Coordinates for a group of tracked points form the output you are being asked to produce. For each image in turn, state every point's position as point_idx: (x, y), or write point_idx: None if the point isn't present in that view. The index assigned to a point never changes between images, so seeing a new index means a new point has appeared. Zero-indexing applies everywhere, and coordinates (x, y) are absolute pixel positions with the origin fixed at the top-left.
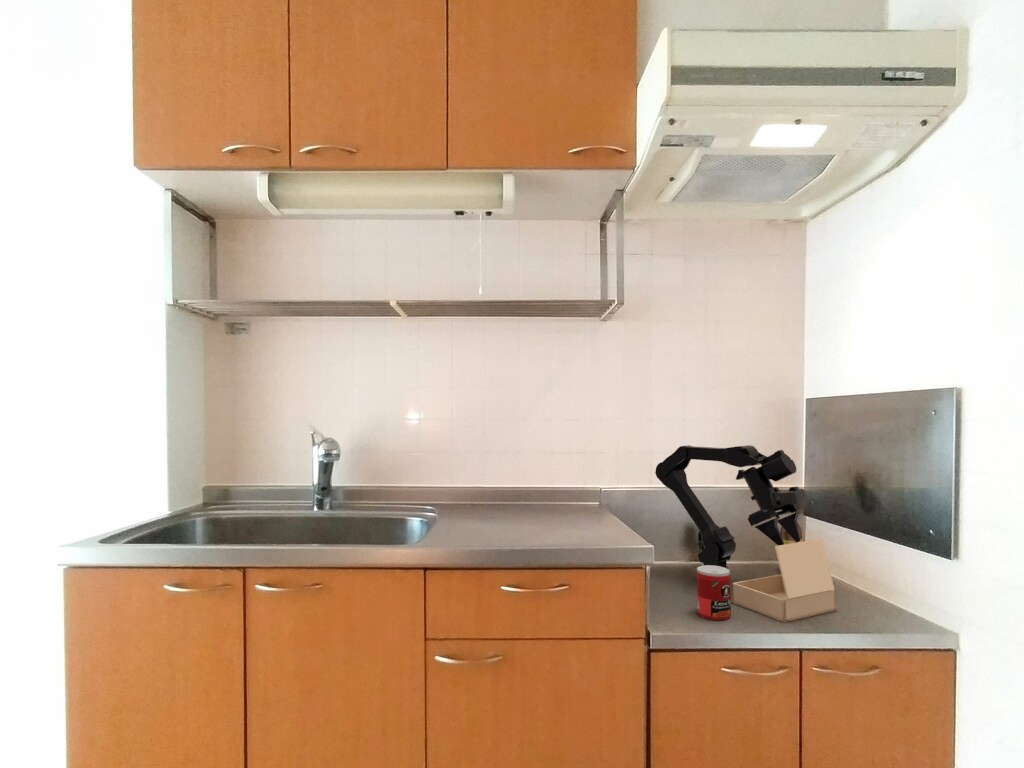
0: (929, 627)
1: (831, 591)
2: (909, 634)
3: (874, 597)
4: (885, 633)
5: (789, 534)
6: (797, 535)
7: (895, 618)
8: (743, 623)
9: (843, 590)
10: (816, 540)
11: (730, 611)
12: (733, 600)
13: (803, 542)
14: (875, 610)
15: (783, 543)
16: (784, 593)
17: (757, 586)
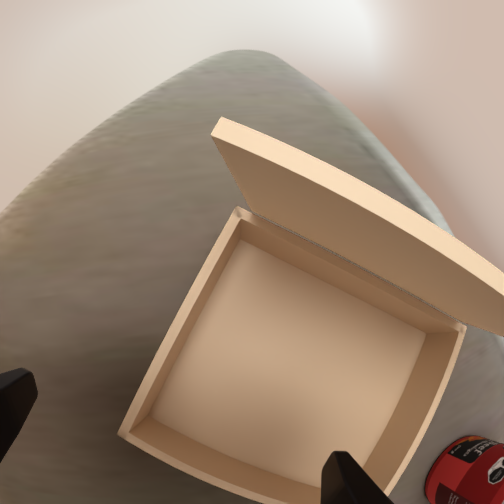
0: (244, 62)
1: (257, 217)
2: (319, 87)
3: (57, 169)
4: (348, 121)
5: (3, 456)
6: (3, 395)
7: (217, 107)
8: (475, 399)
9: (24, 246)
10: (299, 152)
11: (470, 440)
12: None
13: (467, 249)
14: (171, 146)
15: (352, 465)
16: (164, 404)
17: (260, 482)
